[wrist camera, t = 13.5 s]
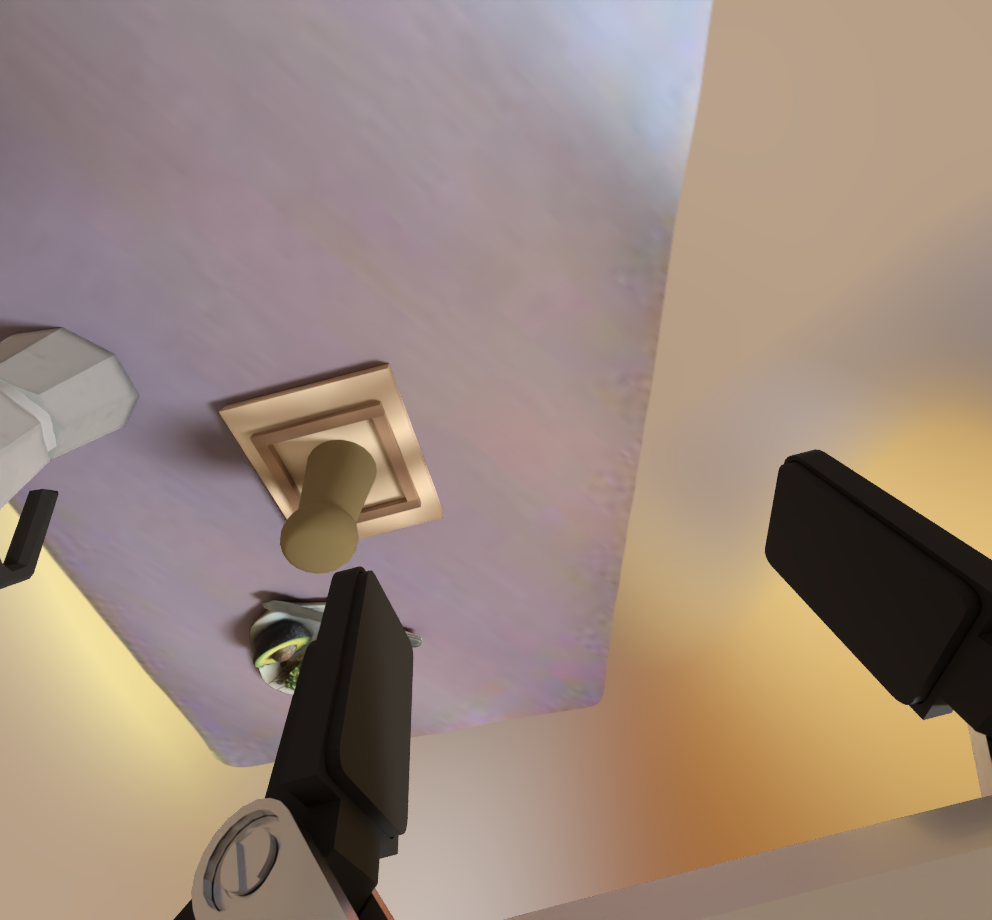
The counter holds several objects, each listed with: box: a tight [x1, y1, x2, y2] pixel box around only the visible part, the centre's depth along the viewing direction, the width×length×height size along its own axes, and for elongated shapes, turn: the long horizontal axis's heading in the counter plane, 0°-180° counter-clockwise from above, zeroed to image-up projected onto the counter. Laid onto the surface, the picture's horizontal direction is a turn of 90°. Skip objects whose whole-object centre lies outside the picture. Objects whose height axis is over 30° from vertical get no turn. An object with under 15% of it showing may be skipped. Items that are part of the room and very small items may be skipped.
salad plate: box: [249, 600, 423, 694], centre depth 51 cm, size 19×18×5 cm
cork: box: [280, 440, 377, 573], centre depth 34 cm, size 6×6×11 cm
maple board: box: [219, 364, 443, 539], centre depth 39 cm, size 16×14×2 cm
